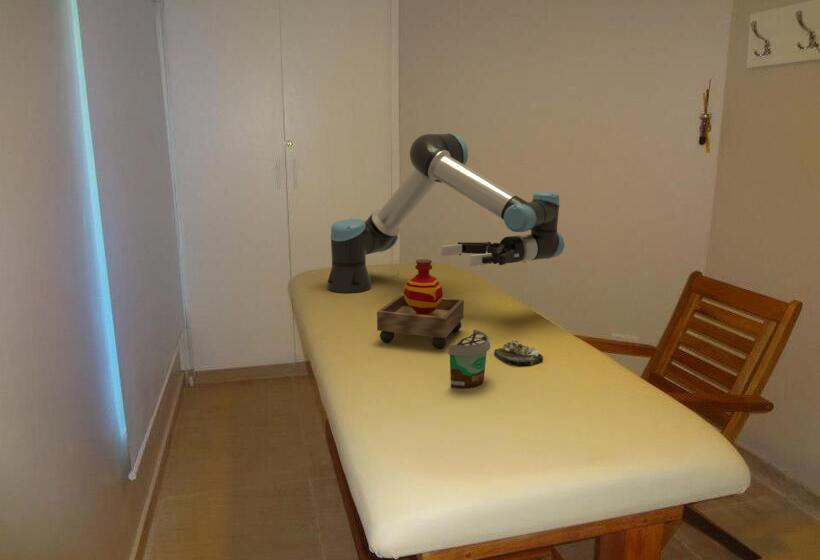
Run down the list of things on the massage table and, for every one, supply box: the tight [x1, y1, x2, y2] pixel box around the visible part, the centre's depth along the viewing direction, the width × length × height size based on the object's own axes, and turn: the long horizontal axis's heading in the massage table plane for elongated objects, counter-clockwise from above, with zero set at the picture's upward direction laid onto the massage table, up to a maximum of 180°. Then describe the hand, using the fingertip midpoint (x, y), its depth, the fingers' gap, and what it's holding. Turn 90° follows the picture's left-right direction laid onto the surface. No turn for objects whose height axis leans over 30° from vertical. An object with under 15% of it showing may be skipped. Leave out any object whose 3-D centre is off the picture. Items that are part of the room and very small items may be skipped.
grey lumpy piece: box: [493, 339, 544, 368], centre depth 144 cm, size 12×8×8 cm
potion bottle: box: [402, 258, 444, 316], centre depth 156 cm, size 10×10×15 cm
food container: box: [447, 329, 491, 390], centre depth 129 cm, size 12×6×10 cm, turn 148°
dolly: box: [376, 293, 465, 350], centre depth 158 cm, size 18×18×9 cm
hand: (455, 255), depth 161 cm, fingers open, 13 cm apart
